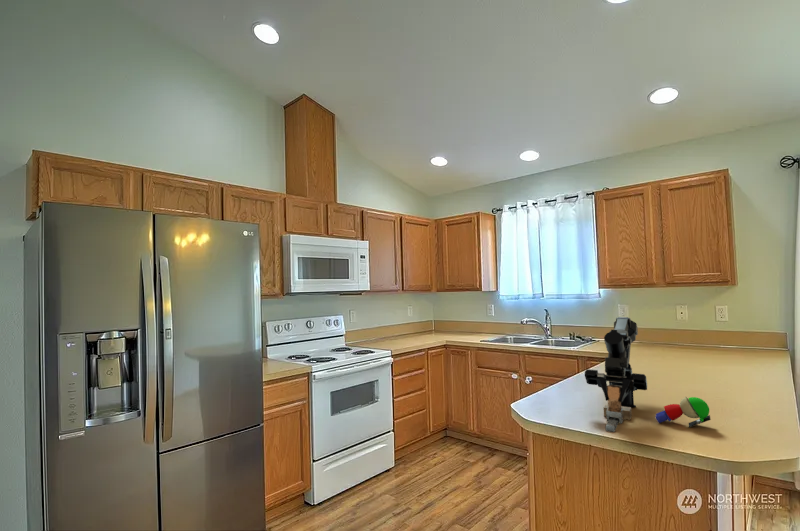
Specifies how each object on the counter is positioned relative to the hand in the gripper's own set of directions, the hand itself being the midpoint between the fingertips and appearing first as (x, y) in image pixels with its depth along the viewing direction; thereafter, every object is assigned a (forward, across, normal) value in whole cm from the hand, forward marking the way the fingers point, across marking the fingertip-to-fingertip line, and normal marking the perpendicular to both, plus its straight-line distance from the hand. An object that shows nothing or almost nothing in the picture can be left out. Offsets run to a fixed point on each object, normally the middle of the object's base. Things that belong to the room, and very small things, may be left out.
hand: (613, 400), depth 139 cm
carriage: (+4, 0, +6) cm, 7 cm away
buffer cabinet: (-1, 0, +11) cm, 11 cm away
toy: (-1, +19, +11) cm, 22 cm away
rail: (+7, 0, +3) cm, 7 cm away
